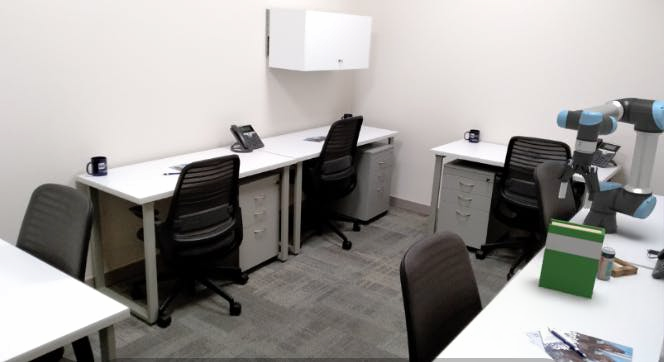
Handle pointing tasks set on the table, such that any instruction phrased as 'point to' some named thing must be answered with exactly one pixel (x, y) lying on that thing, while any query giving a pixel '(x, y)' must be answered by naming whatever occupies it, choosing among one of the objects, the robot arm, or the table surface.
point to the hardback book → (571, 258)
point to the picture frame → (622, 268)
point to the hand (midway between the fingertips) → (573, 203)
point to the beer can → (606, 263)
